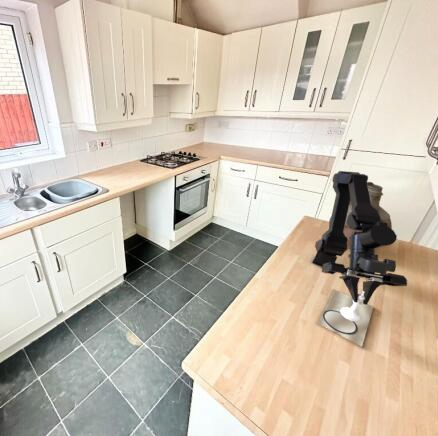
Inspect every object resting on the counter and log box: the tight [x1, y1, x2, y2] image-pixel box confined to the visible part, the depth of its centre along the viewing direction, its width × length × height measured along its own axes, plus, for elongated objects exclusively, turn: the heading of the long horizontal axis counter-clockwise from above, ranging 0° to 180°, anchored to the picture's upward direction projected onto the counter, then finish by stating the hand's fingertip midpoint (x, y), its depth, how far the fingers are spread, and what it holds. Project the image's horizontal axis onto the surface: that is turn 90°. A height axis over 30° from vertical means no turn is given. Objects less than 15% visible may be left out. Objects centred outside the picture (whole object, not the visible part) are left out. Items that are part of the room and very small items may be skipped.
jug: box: [328, 181, 393, 250], centre depth 107 cm, size 22×22×30 cm
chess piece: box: [340, 290, 365, 322], centre depth 73 cm, size 5×5×10 cm
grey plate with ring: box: [318, 289, 374, 348], centre depth 79 cm, size 11×20×1 cm, turn 134°
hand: (360, 303), depth 71 cm, fingers closed on chess piece
